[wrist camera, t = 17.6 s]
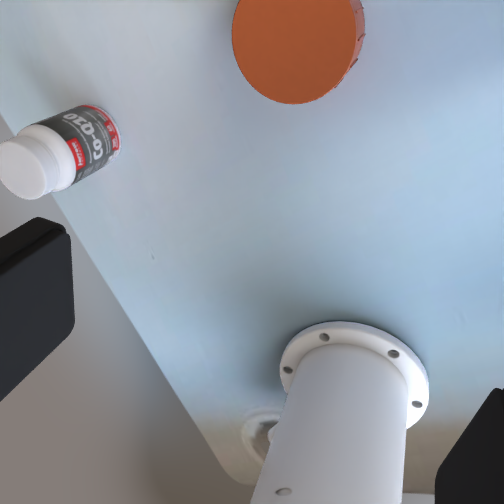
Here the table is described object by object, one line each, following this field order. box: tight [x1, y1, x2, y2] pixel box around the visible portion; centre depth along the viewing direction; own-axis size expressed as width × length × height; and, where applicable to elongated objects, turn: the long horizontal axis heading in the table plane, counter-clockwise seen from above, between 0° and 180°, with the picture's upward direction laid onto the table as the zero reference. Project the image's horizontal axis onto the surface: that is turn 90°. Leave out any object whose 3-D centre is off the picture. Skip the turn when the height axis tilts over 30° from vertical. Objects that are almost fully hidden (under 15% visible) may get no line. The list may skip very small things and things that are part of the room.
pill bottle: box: [0, 105, 121, 200], centre depth 33 cm, size 5×5×8 cm
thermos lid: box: [232, 0, 365, 104], centre depth 27 cm, size 7×7×3 cm
